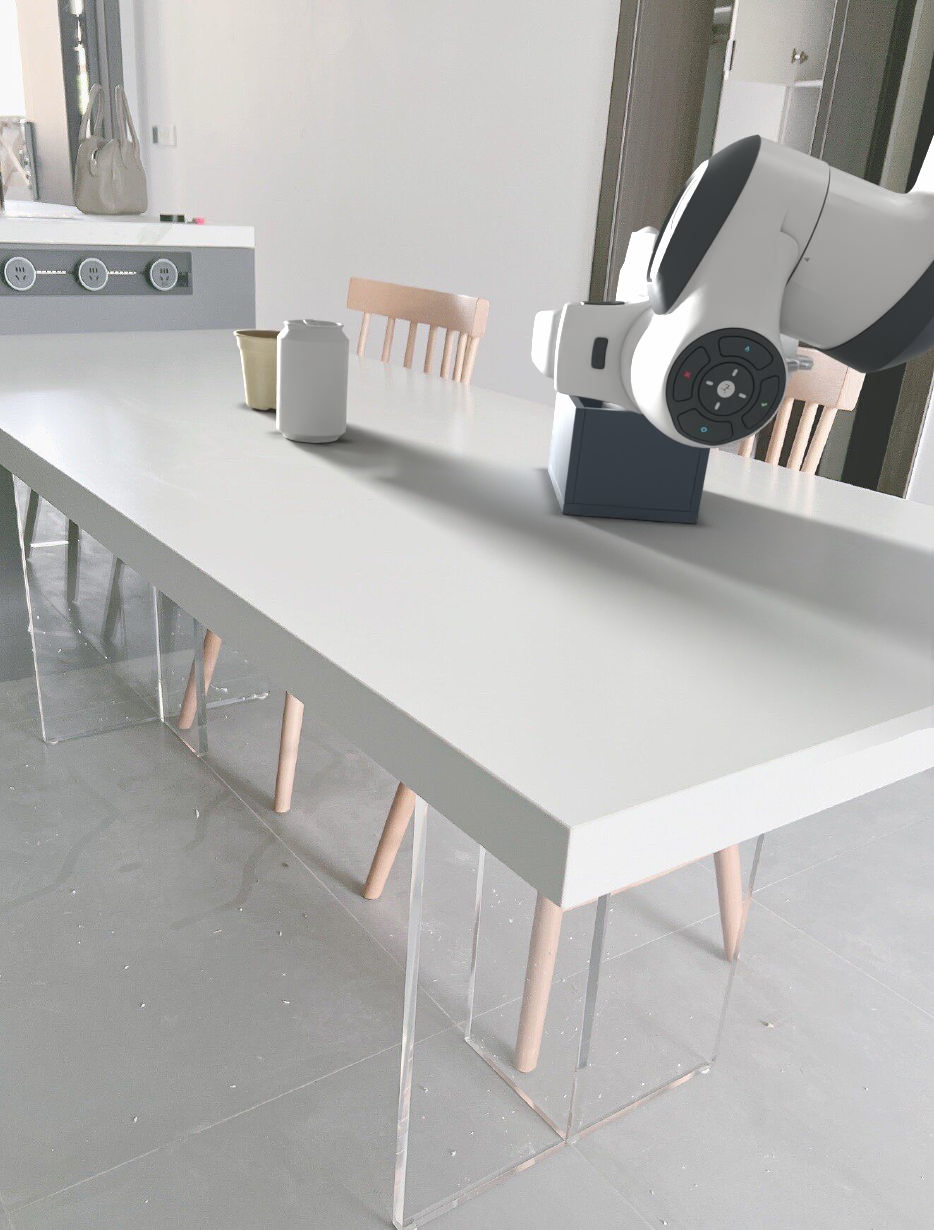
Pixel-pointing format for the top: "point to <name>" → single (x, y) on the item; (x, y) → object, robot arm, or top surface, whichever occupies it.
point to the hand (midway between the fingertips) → (648, 337)
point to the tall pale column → (635, 273)
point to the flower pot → (259, 366)
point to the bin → (622, 465)
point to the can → (312, 380)
